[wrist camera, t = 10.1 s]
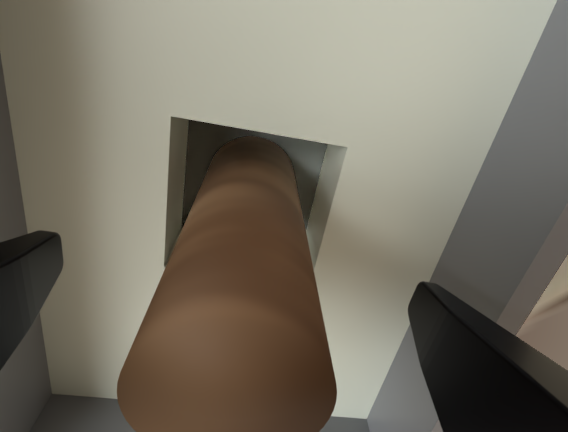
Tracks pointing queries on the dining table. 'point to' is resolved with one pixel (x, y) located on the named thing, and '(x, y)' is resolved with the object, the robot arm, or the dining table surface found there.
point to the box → (330, 189)
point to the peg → (235, 311)
